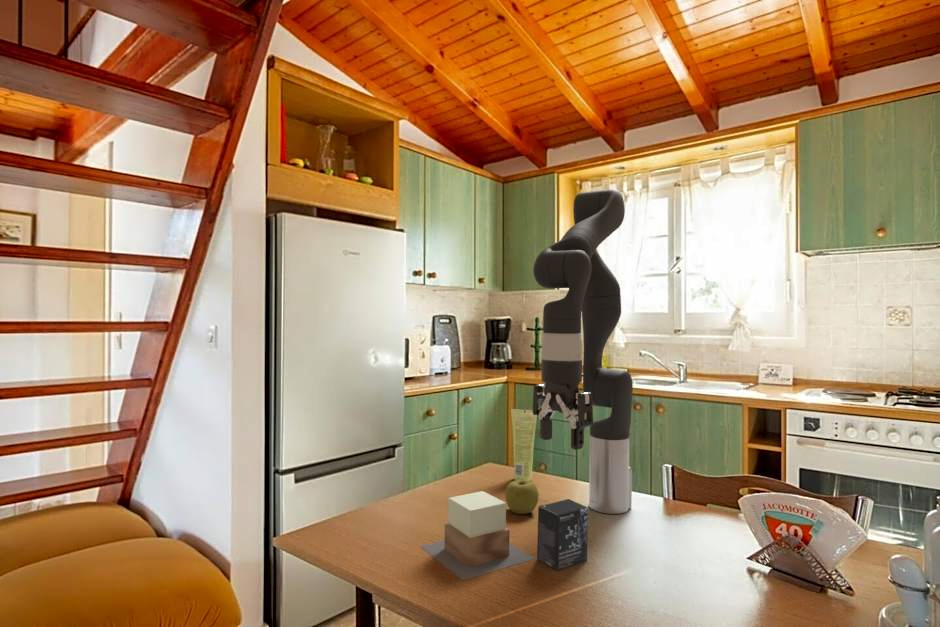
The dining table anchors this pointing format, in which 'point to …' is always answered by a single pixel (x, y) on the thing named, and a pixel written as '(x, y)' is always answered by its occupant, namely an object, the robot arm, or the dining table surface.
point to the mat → (467, 572)
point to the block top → (476, 514)
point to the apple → (521, 496)
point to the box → (562, 534)
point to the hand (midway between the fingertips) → (561, 443)
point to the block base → (476, 546)
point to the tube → (523, 442)
